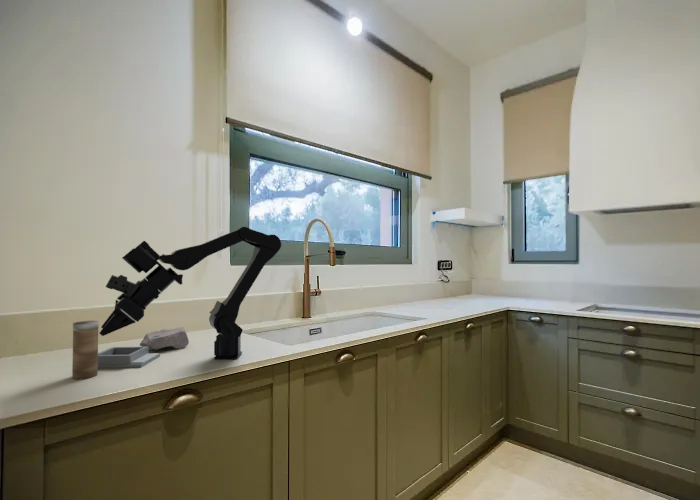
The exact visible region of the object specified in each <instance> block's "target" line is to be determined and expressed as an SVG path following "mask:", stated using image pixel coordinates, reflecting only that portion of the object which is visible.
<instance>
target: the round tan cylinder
mask: <svg viewBox="0 0 700 500" xmlns="http://www.w3.org/2000/svg"><path fill="white" fill-rule="evenodd" d="M99 325H100V323H99V320H82V321H75V322H73V323H72V371H71V372H72V373H71V374H72V375H71V378H72V379H73V380H86V379H87V380H88V379H91V378H93V377H94V378H95V377H96V376H98V373H99V372H98V371H99V368H98V353H99Z"/></svg>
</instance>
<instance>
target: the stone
mask: <svg viewBox="0 0 700 500" xmlns="http://www.w3.org/2000/svg"><path fill="white" fill-rule="evenodd" d="M189 343H190V342H189V337H188V334H187V330H186V328H185V327H183V326H180V327H175V328H169V329H167V328H166V329H160V330H154V331H151V332H148V333H146V334H145V335H144V337H143V338H142V340H141V342H140V343H139V347H146V346H149V351H153V350H154V351H155V350H161V349H163V348H166V347H168V348H173V349H179V350H180V349H184V348H186V347H187V346H188V345H189Z"/></svg>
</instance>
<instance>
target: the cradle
mask: <svg viewBox="0 0 700 500" xmlns="http://www.w3.org/2000/svg"><path fill="white" fill-rule="evenodd" d="M149 351H150V350H149V346H146V347H142V346H113V347H110V348H107V349H105V350H102V351H100V352H98V369H118V368H119V369H121V368H122V369H124V368H127V369H128V368H129V369H130V368H132V369H133V367H134V368H143V367H145V366H146V365H148V364H149V363H151V362H153V361H154V360H157V359H158V358H159V357H161V353H157V352H156V353H154V352H153V353H150V352H149Z"/></svg>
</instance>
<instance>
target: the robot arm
mask: <svg viewBox="0 0 700 500" xmlns="http://www.w3.org/2000/svg"><path fill="white" fill-rule="evenodd" d="M241 242H244V243H246V244H249V245H250V246H252V247H254V248H253V252H252V256H251V259H250V260H249V262H248V264H247V265H246V267H245V269H244V270H243V272H242V273H241V275H239V278H238V280H237V281H236V282H235V284H234V286H233V288H232V289H231V291H230V292H229V294H228V296H227V297H226V298H225V299H224V300H223V301H222V302H221V301H220V300H217V301H216V302H215V303H214V307H213V308H212V309H211V310H210V311H209V314H210V315H209V317H208V320H209V321H208V322H209V325H210V326H211V327H212V328H213V329H214V330H216V333H217V335H216V336H215V340H214V341H213V343H214V348H213V349H214V350H213V351H214V353H213V355H214V357H213V359H214V360H228V359H229V360H231V359H232V360H233V359H239V357H240V356H241V355H242V353H243V351H241V350H242V349H241V347H242V346H241V342H242V341H241V339H242V338H241V336H242V334H243V333H242V332H243V328H242V327H241V326H240V325H238V324H237V323H236V320H237V319H238V316H239V311H240V307H241V304H242V302H243V301H244V300H245V298H246V296H247V295H248V293H249V291H250V289H251V287H252V286H253V285H254V282H255V281H256V279H257V278H258V276H259V275H260V273H261V272H262V269H263V268H264V266H265V265H266V264H267V263H268V262H269V261H270V260H272V259H273V258H274V257H275V256H276V255H277V253H278V252H279V251H280V250H281V248H282V241H281V239H280V237H279V236H278V235H276V234H266V233H264V232H260V231H257V230H254V229H251V228H249V227H248V226H241V227H238V228H237V229H236V230H232V231H230V232H227V233H225V234H223V235H220V236H218V237H216V238H214V239H210V240H208V241H206V242H204V243H202V244H198V245H194V246H189V247H184V248H179V249H176V250H174V251H173V252H171V254H161V255H160V254H159V253H158V252H157V251H156V250H155V249H153V248H152V247H151V246H150V244H149V243H148V242H147V241H146V240H143V241H141V243H140V244H138V245H137V246H136V247H135V248H134V247H133V248H132V249H130V251H129V252H127V253H126V254H125V255H124V256H123V257H121V259H122V260H123V261H125V263H127V264H128V265H129V266H131V268H133V269H134V270H135V271H136V272H137V273H138V274H140V273H142V272H143V273H145V274H147V273H148V274H147V275H146V276H145V277H143V278H142V279H141V280H138V281H137V282H133V281H130V280H128V277H127V276H125V275H122V274H120V275H118V276H116V275H115V274H114V275H113V274H112V275H110V278H109V280H108V282H107V283H106V285H105V288H107V289H110V290H115V291H117V292H120V293H121V294H120V295H118V296H117V298H116V299H115V302H114V303H115V305H114V310H112V312H111V313H110V315H109V316H108V317H107V318H106V320H105V321H104V322H103V324H102V325H101V330H100V331H99V335H100V336H102V337H104V336H106V335H109V334H111V333H113V332H116V331H118V330H120V329H122V328H126V327H128V326H130V325H133V324H136V322H138V323H139V321H140V320H142V319H143V317H145V310H146V309H147V307H149V305H150V304H151V303H152V302H153V301H154V300H157V299H158V298H159V297H160V295H161V294H162V293H164V291H165V290H167V288H168V287H169V286H171V285H172V284H173V283H174V282H176V283H177V284H178V285H180V286H182V285H183V277H184V275H183V274H181V273H180V274H178V273H177V272H176V271H175V270H179V271H187V270H190V269H191V268H193V267H194V266H195V265H197V264H198V263H200V262H201V261H203V260H205V258H207V257H208V256H211V255H213V254H215V253H218V252H221V251H224V250H225V249H227V248H229V247H232V246H234V245H237V244H238V243H241ZM162 264H168V265H170V266H171V267H172V268H173V269H172V268H171V267H168V268H165V267H164V265H162ZM156 265H157V266H156ZM155 266H156V267H155ZM153 268H154V269H153ZM152 269H153V270H152ZM174 269H175V270H174ZM151 270H152V271H151ZM149 271H150V272H149Z"/></svg>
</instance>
